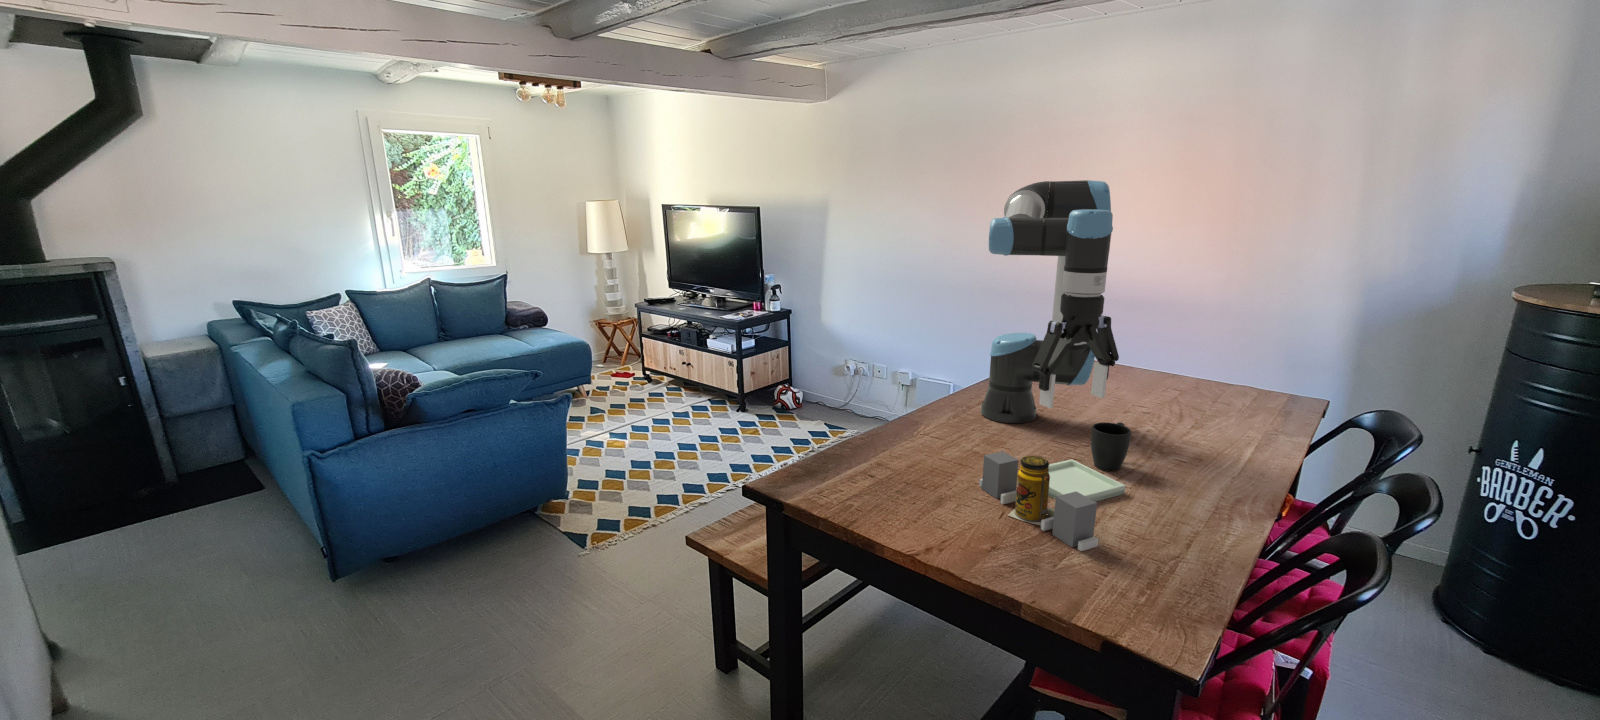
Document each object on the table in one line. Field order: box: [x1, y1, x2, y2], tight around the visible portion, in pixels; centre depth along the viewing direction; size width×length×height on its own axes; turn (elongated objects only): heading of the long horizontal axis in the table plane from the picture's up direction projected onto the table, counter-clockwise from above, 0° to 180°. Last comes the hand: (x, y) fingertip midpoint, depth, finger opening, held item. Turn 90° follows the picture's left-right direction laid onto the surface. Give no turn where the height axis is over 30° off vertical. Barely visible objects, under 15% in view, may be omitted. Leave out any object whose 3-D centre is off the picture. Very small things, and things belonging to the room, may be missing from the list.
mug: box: [1090, 421, 1132, 472], centre depth 154 cm, size 8×12×10 cm
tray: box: [1048, 458, 1126, 502], centre depth 144 cm, size 15×15×2 cm
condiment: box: [1007, 455, 1055, 527], centre depth 132 cm, size 7×8×12 cm
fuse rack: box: [978, 450, 1099, 552], centre depth 132 cm, size 29×6×8 cm, turn 23°
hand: (1072, 401), depth 129 cm, fingers open, 13 cm apart
